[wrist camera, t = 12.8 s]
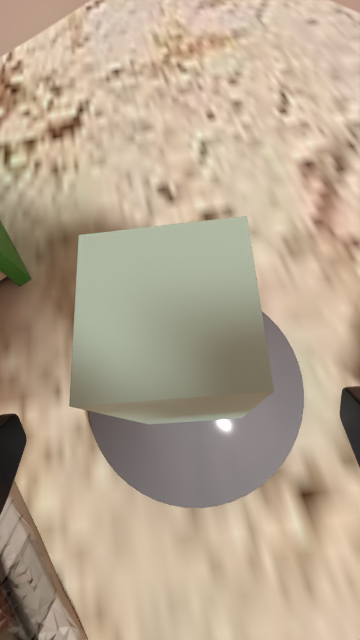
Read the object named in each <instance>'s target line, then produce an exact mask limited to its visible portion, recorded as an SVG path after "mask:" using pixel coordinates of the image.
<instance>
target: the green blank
mask: <svg viewBox="0 0 360 640" xmlns="http://www.w3.org/2000/svg"><path fill="white" fill-rule="evenodd" d="M273 392H274V388H273V381H272V375H271V368H270V362H269V355H268V349H267V343H266V336H265V330H264V323H263V317H262V310H261V304H260V297H259V291H258V284H257V278H256V271H255V265H254V258H253V252H252V245H251V239H250V233H249V226H248V220H247V216H243V217H234V218H225V219H216V220H208V221H199V222H190V223H181V224H172V225H163V226H154V227H145V228H136V229H127V230H119V231H110V232H101V233H92V234H83V235H79V238H78V257H77V275H76V294H75V312H74V331H73V349H72V368H71V386H70V405H69V406H70V407H75V408H79V409H83V410H88V411H92V412H97V413H101V414H105V415H110V416H114V417H118V418H123V419H127V420H132V421H136V422H140V423H145V424H164V423H179V422H194V421H209V420H224V419H238V418H243V417H244V416H245V415H246V414H247V413H249V412H250V411H251V410H252V409H253V408H255V407H256V406H257V405H258V404H259V403H261V402H262V401H263V400H264V399H266V398H267V397H268V396H269V395H270V394H272V393H273Z"/></svg>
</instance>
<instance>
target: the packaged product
mask: <svg viewBox="0 0 360 640" xmlns="http://www.w3.org/2000/svg"><path fill="white" fill-rule="evenodd" d="M0 640H88V639H87V636H86V634H85V632H84V630H83V628H82V626H81V624H80V622H79V620H78V618H77V616H76V614H75V612H74V610H73V608H72V606H71V604H70V602H69V600H68V598H67V596H66V594H65V592H64V590H63V588H62V586H61V583H60V581H59V579H58V576H57V574H56V571H55V569H54V567H53V564H52V562H51V560H50V557H49V555H48V553H47V550H46V548H45V545H44V543H43V541H42V538H41V536H40V534H39V532H38V529H37V527H36V525H35V524H34V522H33V519H32V517H31V515H30V513H29V511H28V509H27V506H26V504H25V502H24V500H23V498H22V496H21V493H20V491H19V489H18V487H17V485H16V482H15V480H14V482H13V485H12V488H11V491H10V493H9V496H8V499H7V501H6V504H5V506H4V508H3V511H2V513H1V515H0Z"/></svg>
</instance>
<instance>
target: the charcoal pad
mask: <svg viewBox="0 0 360 640" xmlns="http://www.w3.org/2000/svg"><path fill="white" fill-rule="evenodd" d="M262 317H263V323H264V330H265V336H266V343H267V349H268V355H269V362H270V368H271V375H272V381H273V388H274V392H273V393H272V394H270V395H269V396H268V397H267V398H266V399H264V400H263V401H262V402H261V403H259V404H258V405H257V406H256V407H255V408H253V409H252V410H251V411H250V412H249V413H247V414H246V415H245V416H244V417H243V418H238V419H224V420H209V421H194V422H179V423H164V424H145V423H140V422H136V421H132V420H127V419H123V418H118V417H114V416H110V415H105V414H101V413H97V412H92V411H88V412H89V418H90V424H91V427H92V430H93V434H94V437H95V439H96V441H97V444H98V446H99V448H100V450H101V452H102V454H103V455H104V457H105V458H106V460H107V462H108V463H109V464H110V466H111V467H112V468H113V469H114V470H115V472H116V473H117V474H118V475H119V476H120V477H121V478H122V479H123V480H125V481H126V482H127V483H128V484H129V485H130V486H132V487H133V488H135V489H136V490H138V491H139V492H141V493H142V494H144V495H146V496H148V497H150V498H152V499H154V500H157V501H160V502H163V503H166V504H169V505H174V506H180V507H186V508H204V507H212V506H218V505H222V504H225V503H229V502H232V501H235V500H237V499H239V498H241V497H243V496H246V495H248V494H249V493H251V492H252V491H254V490H255V489H257V488H258V487H260V486H261V485H262V484H263V483H265V482H266V481H267V480H268V479H269V478H270V477H271V476H273V474H274V473H275V472H276V471H277V470H278V468H279V467H280V466H281V465H282V464H283V462H284V461H285V459H286V457H287V456H288V454H289V453H290V451H291V449H292V447H293V445H294V442H295V440H296V438H297V435H298V432H299V428H300V425H301V421H302V414H303V407H304V390H303V382H302V376H301V372H300V368H299V364H298V361H297V359H296V356H295V354H294V351H293V349H292V347H291V346H290V344H289V342H288V340H287V339H286V337H285V336H284V334H283V333H282V332H281V330H280V329H279V328H278V326H277V325H276V324H275V323H274V322H273V321H272V320H271V319H270V318H269V317H268V316H267V315H266V314H264V313H263V312H262Z"/></svg>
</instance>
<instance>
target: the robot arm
mask: <svg viewBox="0 0 360 640" xmlns="http://www.w3.org/2000/svg"><path fill="white" fill-rule="evenodd" d="M340 418H341V421H342V424H343V427H344V429H345V432H346V434H347V437H348V439H349V442H350V444H351V447H352V449H353V452H354V454H355V457H356V459H357V462H358V464H359V467H360V386H354V387H345V388H344V389H343V390H342V395H341V405H340ZM25 445H26V434H25V432H24V429H23V427H22V424H21V422H20V419H19V417H18V416H17V415H16V414H3V415H0V515H1V513H2V511H3V508H4V506H5V504H6V501H7V499H8V496H9V493H10V491H11V488H12V485H13V482H14V479H15V476H16V473H17V470H18V467H19V463H20V460H21V457H22V454H23V451H24V448H25Z"/></svg>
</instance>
